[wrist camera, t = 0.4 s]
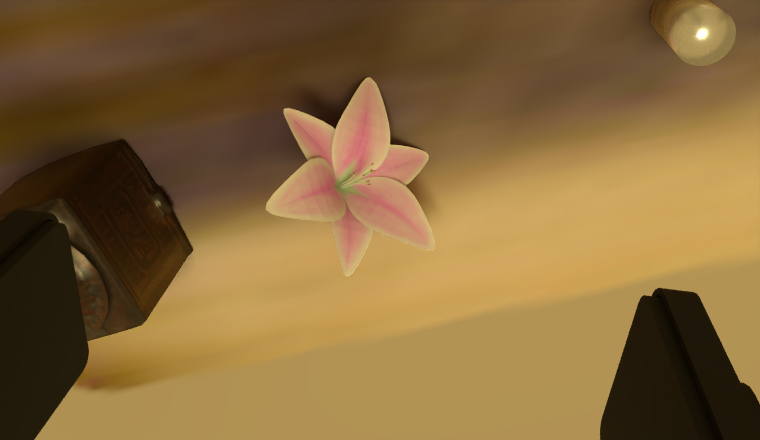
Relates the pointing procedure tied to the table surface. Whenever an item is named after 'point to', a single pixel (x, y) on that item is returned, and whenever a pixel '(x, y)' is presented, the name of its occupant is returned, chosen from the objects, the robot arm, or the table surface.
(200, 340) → the table surface
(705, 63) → the light bulbs
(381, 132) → the lily
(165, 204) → the manual coffee grinder
